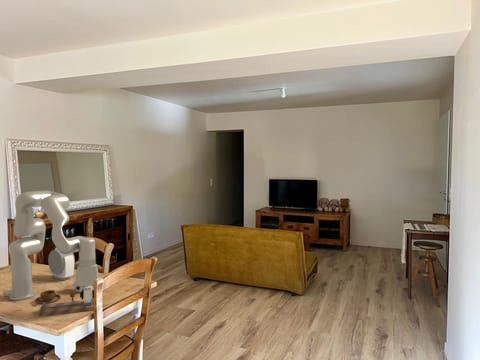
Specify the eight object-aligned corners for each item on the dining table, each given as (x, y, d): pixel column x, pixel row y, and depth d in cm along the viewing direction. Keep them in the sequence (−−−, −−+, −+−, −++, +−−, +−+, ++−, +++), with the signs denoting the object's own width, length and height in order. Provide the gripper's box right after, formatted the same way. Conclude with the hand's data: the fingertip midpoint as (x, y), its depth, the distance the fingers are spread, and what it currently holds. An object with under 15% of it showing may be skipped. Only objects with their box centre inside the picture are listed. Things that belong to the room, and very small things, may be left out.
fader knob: (82, 305, 173) (82, 291, 173) (84, 300, 180) (84, 286, 180) (91, 304, 175) (91, 290, 174) (92, 299, 181) (92, 285, 181)
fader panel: (39, 316, 166) (39, 309, 166) (44, 308, 176) (43, 301, 175) (97, 309, 174) (97, 302, 174) (99, 302, 184) (99, 295, 183)
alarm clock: (76, 278, 222) (75, 247, 221) (63, 282, 215) (63, 250, 214) (59, 274, 231) (59, 244, 231) (47, 277, 224) (46, 246, 223)
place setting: (60, 294, 197) (59, 283, 197) (77, 302, 185) (77, 291, 185) (26, 303, 184) (25, 292, 183) (42, 313, 171) (42, 301, 171)
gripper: (67, 266, 170) (68, 303, 171) (104, 263, 175) (105, 298, 176) (70, 262, 177) (70, 297, 178) (105, 259, 183) (106, 293, 183)
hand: (88, 297), depth 177 cm, fingers open, 4 cm apart
